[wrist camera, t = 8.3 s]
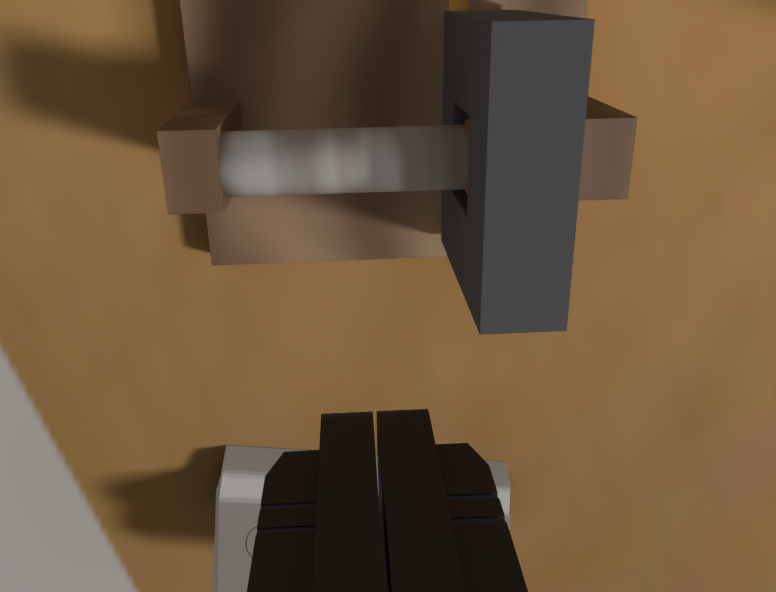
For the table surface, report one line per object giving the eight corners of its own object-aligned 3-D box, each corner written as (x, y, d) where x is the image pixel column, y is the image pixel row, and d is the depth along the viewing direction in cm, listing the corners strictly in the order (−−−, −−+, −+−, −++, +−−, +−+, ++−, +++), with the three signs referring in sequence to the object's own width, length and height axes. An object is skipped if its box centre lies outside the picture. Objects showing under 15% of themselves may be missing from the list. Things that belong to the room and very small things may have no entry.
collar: (515, 9, 30) (595, 19, 21) (504, 237, 34) (566, 330, 25) (444, 10, 30) (491, 21, 21) (441, 240, 34) (479, 334, 25)
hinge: (513, 462, 42) (544, 641, 34) (494, 506, 45) (518, 677, 37) (218, 444, 40) (185, 629, 32) (221, 491, 43) (190, 668, 36)
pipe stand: (577, -18, 32) (656, -20, 24) (557, 241, 36) (616, 310, 29) (185, -11, 31) (134, -10, 23) (216, 254, 35) (183, 328, 28)
